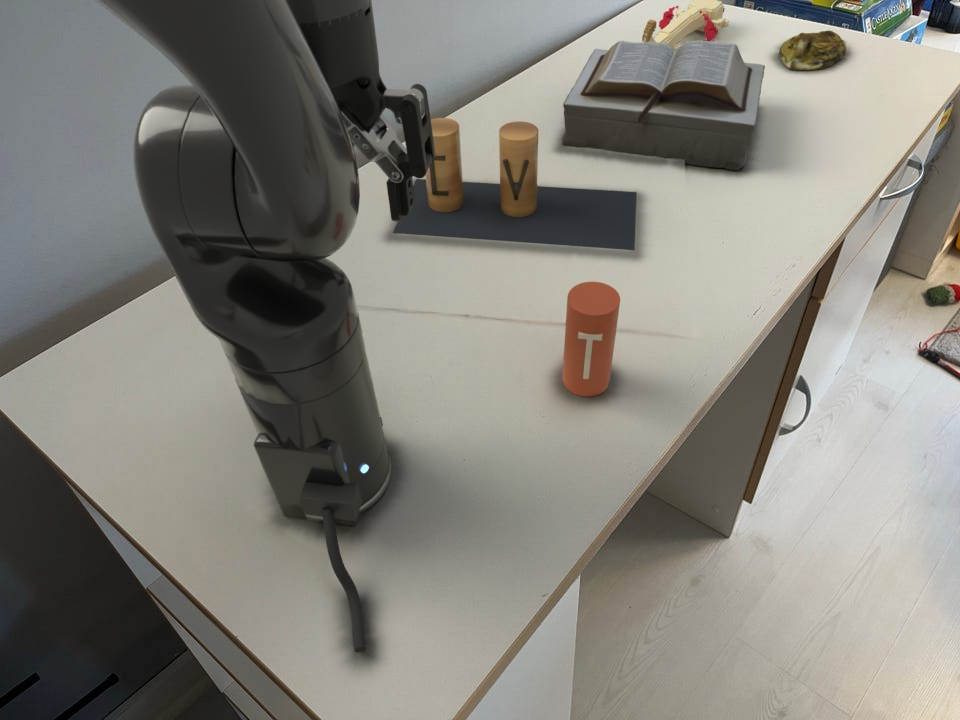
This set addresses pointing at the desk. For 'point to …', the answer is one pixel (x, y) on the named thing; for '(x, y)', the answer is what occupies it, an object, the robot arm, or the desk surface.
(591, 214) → the word mat
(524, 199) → the light wooden cylinder
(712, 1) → the cream and red piece
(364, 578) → the desk surface
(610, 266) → the desk surface
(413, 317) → the desk surface
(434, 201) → the pillar
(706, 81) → the bible
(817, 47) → the olive rounded lump
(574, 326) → the pillar
